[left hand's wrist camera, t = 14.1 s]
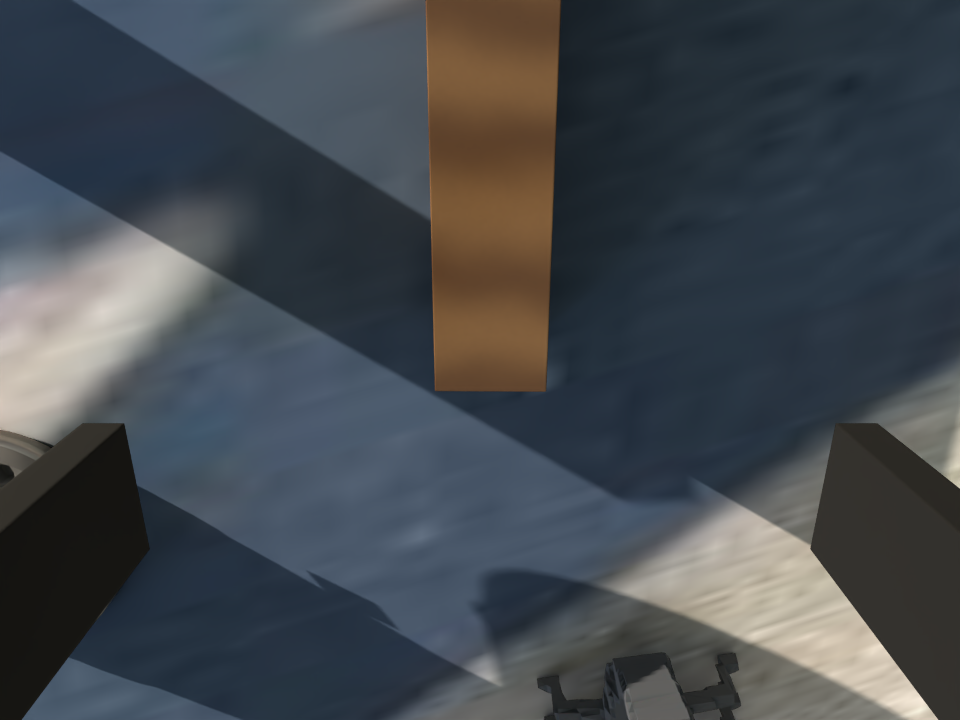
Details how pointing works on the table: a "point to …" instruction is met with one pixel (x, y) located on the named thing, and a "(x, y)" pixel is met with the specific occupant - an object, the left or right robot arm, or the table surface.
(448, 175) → the beam
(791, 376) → the table surface
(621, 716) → the toy
